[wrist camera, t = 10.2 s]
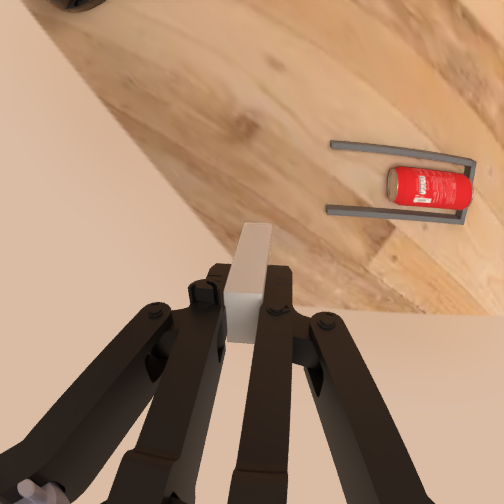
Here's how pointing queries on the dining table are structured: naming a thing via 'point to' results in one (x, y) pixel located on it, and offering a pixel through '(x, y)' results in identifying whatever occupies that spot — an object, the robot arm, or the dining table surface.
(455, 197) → the beverage can
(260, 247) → the robot arm
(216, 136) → the dining table surface
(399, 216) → the grey u-shaped frame
